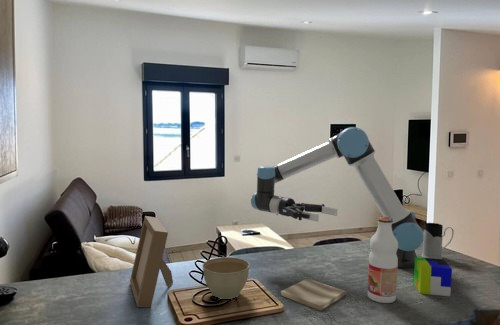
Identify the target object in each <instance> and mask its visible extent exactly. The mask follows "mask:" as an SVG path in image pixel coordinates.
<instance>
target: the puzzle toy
mask: <svg viewBox="0 0 500 325" xmlns="http://www.w3.org/2000/svg"><path fill="white" fill-rule="evenodd" d="M452 273H453V268H452V267H451V266H450V265H449V264H448V262H447V261H446V260H445V259H443V258H442V259H434V258H424V257H420V256H419V257H415V267H414V272H413V274H414V275H413V283H414V285H415V288H416V289H417V290H418V292H419V294H423V295H433V296H445V297H451V289H452V276H453V275H452Z"/></svg>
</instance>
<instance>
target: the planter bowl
mask: <svg viewBox="0 0 500 325" xmlns="http://www.w3.org/2000/svg"><path fill="white" fill-rule="evenodd" d="M250 265H251V264H250V263H249V261H248V260H245V259H243V258H239V257H234V256H233V257H232V256H231V257H229V256H227V257H226V256H222V257H215V258H210V259H207V260H205V262H203V264H202V269H203V270H202V271H203V278H204V281H205V282H204V283H205V284H206V287H207V288H208V290H210V292H211V296H212V297H213V296H215V297H218V298H222V299H231V300H233V299H232V298H235V297H237V298H238V297H240V295H241V292H242V290H243V289H244V287H245V286H246V283H247V282H248V278H249V272H250V271H249V270H250ZM235 299H236V298H235Z"/></svg>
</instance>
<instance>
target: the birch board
mask: <svg viewBox="0 0 500 325" xmlns="http://www.w3.org/2000/svg"><path fill="white" fill-rule="evenodd" d="M280 296H281V297H285V298H286V299H289V300H292V301H295V302H297V303H299V304H301V305H305V306H308V307H309V308H313V309H315V310H317V311H320V312H321V311H323V310H324V309H325V308H327V307H328V306H330V305H332V304H334V303H335V302H337V301H338V300H340V299H341V298H343V297H344V296H346V290H344V289H341V288H337V287H334V286H331V285H328V284H325V283H322V282H320V281H317V280H315V279H311V278H304V279H303V280H301V281H300V282H296V283H295V284H293V285H291V286H289V287H286V288H285V289H283V290H281V291H280Z"/></svg>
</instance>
